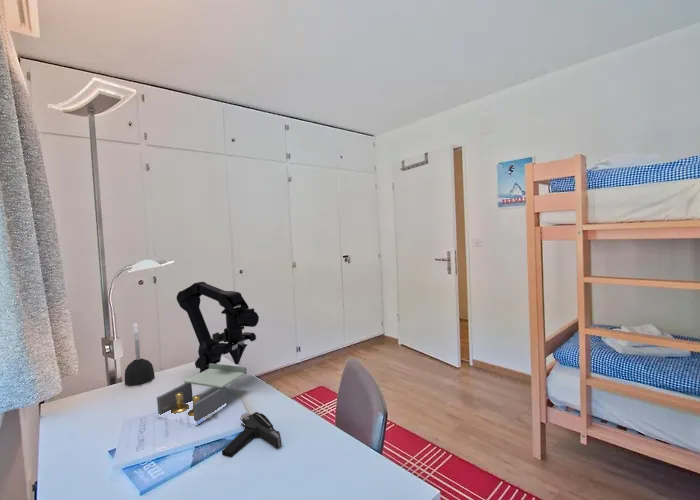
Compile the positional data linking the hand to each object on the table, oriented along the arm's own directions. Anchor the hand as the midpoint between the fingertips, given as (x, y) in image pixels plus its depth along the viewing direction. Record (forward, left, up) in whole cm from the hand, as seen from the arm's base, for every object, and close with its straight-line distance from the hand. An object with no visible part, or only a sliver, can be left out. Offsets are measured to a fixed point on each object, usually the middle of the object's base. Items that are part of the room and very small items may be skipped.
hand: (236, 364), depth 138 cm
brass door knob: (+24, -4, -8) cm, 26 cm away
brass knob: (+24, +4, -8) cm, 26 cm away
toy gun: (+30, +28, -9) cm, 42 cm away
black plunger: (+9, -44, -9) cm, 46 cm away
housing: (+22, 0, -8) cm, 24 cm away
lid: (+11, 0, -1) cm, 11 cm away
